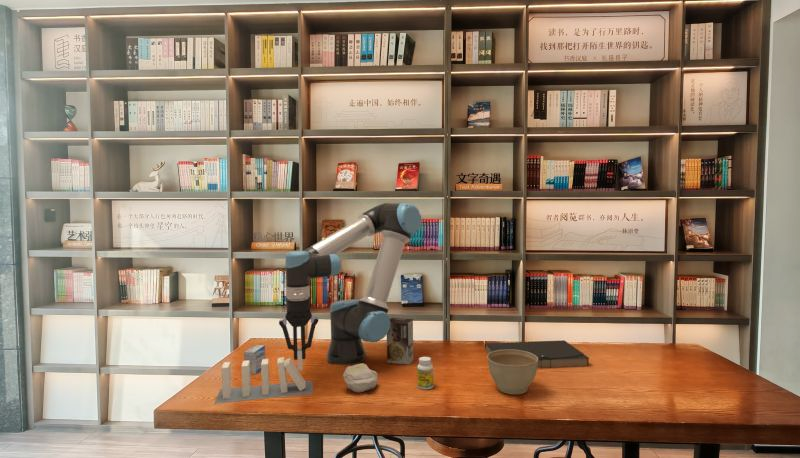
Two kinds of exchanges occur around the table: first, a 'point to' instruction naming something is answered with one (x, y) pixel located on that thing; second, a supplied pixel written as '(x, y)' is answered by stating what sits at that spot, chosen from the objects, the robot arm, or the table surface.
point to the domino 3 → (265, 376)
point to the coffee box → (400, 341)
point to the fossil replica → (360, 378)
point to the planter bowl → (512, 370)
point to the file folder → (546, 352)
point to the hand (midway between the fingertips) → (300, 368)
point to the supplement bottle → (425, 373)
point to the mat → (257, 394)
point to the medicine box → (255, 357)
